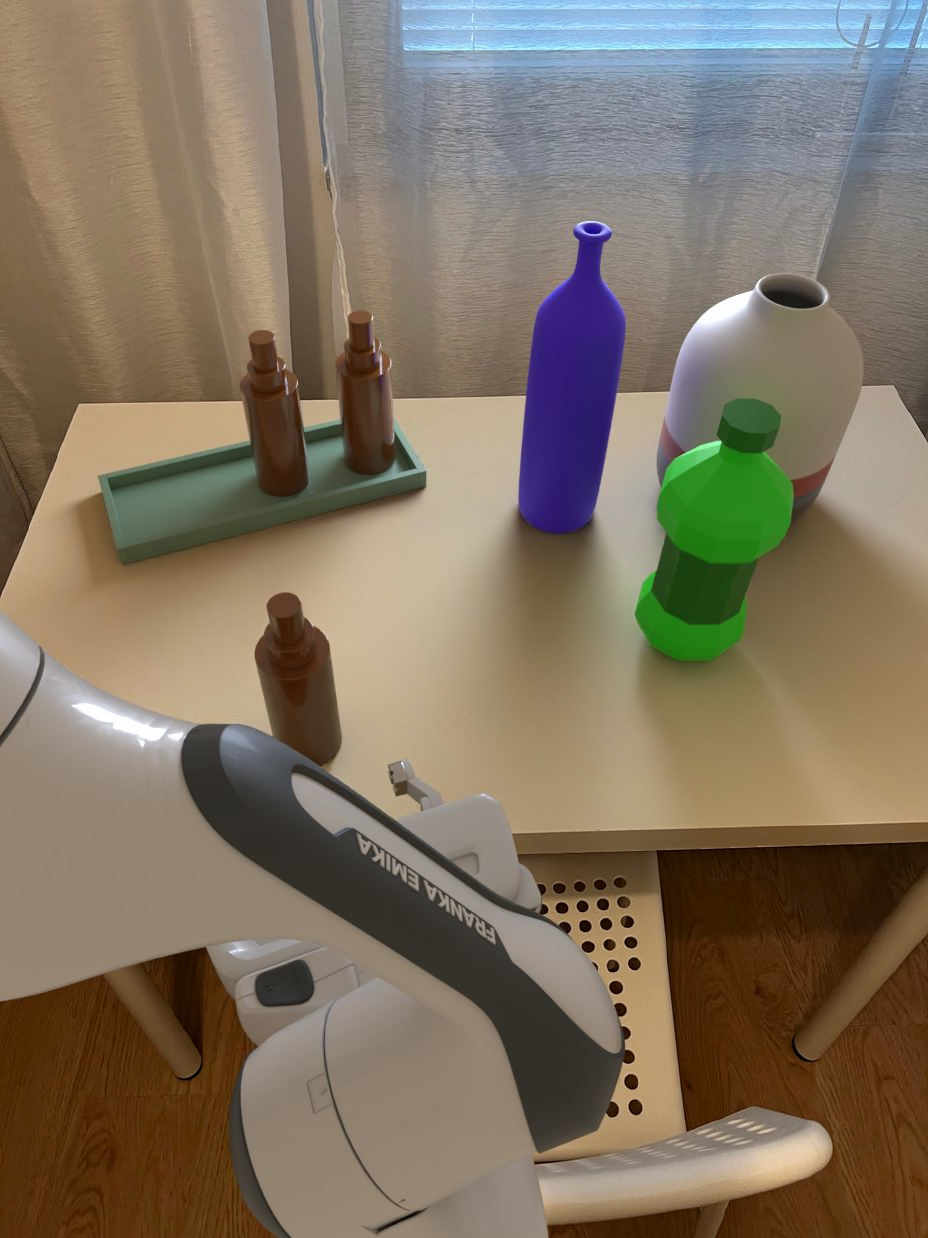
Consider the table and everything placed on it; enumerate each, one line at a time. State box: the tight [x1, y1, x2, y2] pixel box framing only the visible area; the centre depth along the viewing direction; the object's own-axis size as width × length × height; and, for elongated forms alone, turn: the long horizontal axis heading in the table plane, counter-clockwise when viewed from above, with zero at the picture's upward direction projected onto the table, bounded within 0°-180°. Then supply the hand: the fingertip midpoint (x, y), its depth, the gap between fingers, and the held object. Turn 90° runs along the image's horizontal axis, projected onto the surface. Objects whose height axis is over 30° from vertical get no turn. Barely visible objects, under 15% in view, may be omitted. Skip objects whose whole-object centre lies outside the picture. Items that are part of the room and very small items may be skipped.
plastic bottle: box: [634, 398, 794, 662], centre depth 77 cm, size 10×10×25 cm
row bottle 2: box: [334, 309, 395, 475], centre depth 95 cm, size 6×6×17 cm
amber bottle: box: [253, 591, 343, 767], centre depth 72 cm, size 6×6×17 cm
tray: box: [97, 417, 427, 566], centre depth 98 cm, size 32×12×2 cm, turn 113°
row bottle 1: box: [239, 329, 310, 497], centre depth 92 cm, size 6×6×17 cm
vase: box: [655, 272, 864, 527], centre depth 90 cm, size 17×17×24 cm
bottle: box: [517, 220, 627, 534], centre depth 86 cm, size 8×8×30 cm
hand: (331, 785), depth 64 cm, fingers open, 8 cm apart
